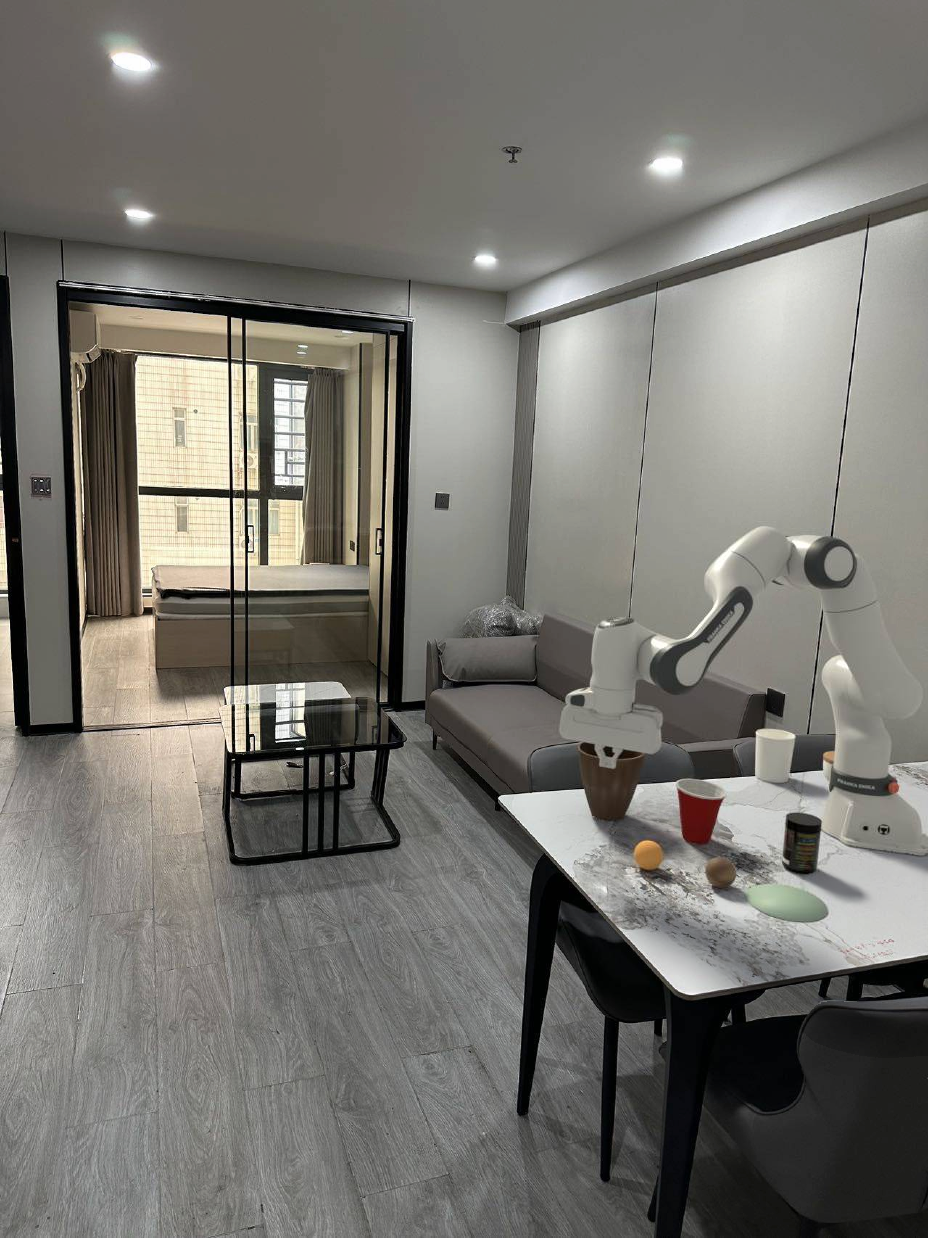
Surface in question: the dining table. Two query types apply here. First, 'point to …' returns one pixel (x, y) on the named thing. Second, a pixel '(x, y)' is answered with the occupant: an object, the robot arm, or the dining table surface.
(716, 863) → the walnut ball
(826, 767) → the lidded jar
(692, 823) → the plastic cup
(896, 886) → the dining table surface
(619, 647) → the robot arm
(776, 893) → the sage mark
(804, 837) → the supplement container
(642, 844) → the orange ball
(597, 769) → the plant pot
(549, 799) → the dining table surface
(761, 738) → the white tapered cylinder
